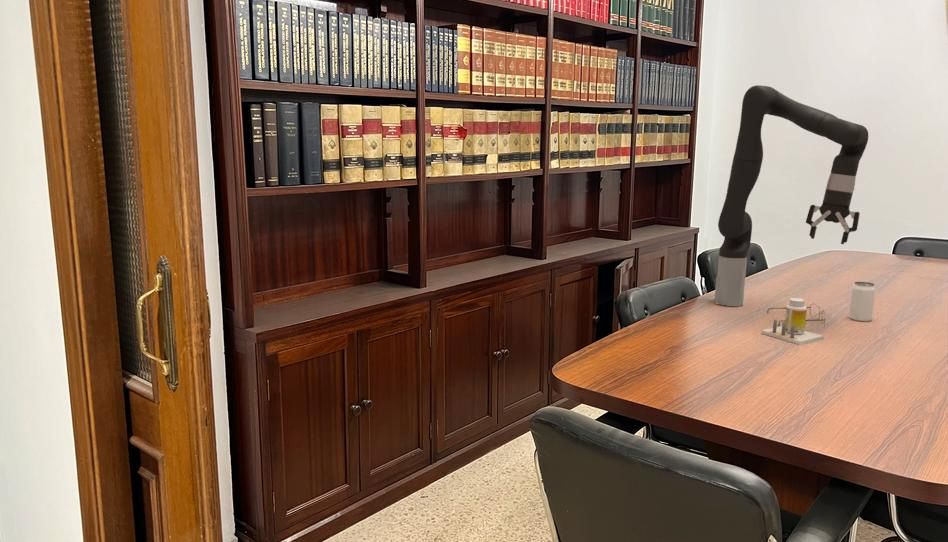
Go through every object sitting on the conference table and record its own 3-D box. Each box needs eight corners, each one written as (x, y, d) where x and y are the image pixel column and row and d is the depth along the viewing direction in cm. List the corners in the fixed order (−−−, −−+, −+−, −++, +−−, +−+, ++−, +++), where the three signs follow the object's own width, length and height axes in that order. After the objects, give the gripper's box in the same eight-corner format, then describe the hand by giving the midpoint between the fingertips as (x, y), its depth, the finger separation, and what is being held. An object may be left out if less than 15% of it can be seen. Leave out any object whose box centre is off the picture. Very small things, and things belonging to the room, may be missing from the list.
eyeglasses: (828, 329, 215) (830, 314, 214) (778, 327, 217) (779, 312, 216) (813, 316, 230) (815, 302, 229) (766, 314, 233) (767, 300, 232)
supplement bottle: (808, 333, 206) (811, 300, 204) (795, 336, 203) (798, 302, 201) (792, 328, 211) (795, 296, 209) (779, 331, 208) (783, 298, 206)
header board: (761, 333, 209) (762, 317, 208) (784, 328, 215) (786, 312, 214) (800, 344, 198) (801, 328, 197) (823, 339, 204) (825, 322, 203)
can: (874, 322, 221) (879, 286, 219) (852, 321, 223) (856, 285, 220) (867, 317, 228) (871, 281, 225) (846, 316, 229) (850, 280, 226)
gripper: (812, 186, 212) (800, 237, 215) (864, 193, 204) (851, 246, 207) (816, 186, 218) (804, 236, 221) (866, 193, 210) (853, 244, 214)
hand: (827, 241), depth 214 cm, fingers open, 8 cm apart
